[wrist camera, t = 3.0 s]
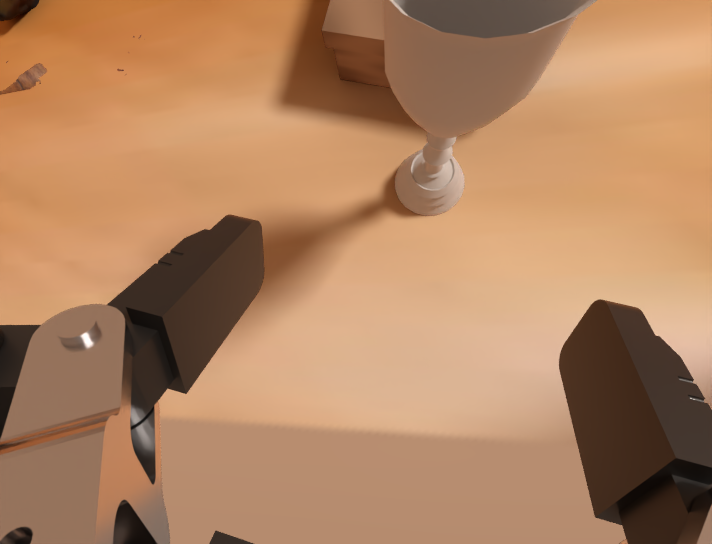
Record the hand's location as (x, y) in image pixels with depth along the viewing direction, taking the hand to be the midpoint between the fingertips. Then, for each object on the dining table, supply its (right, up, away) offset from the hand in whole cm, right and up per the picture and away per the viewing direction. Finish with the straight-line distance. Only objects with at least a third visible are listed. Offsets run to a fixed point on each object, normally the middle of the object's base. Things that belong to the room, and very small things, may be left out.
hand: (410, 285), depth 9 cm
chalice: (+4, +7, +18) cm, 20 cm away
